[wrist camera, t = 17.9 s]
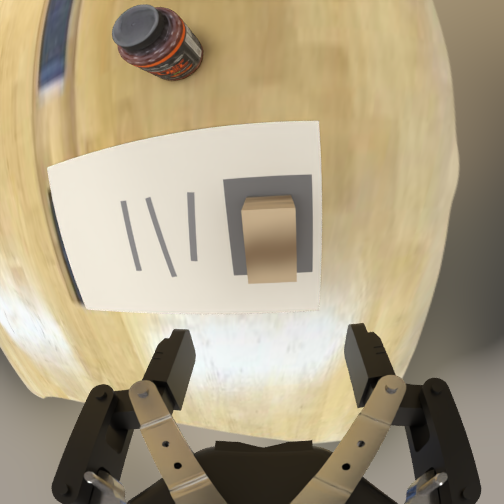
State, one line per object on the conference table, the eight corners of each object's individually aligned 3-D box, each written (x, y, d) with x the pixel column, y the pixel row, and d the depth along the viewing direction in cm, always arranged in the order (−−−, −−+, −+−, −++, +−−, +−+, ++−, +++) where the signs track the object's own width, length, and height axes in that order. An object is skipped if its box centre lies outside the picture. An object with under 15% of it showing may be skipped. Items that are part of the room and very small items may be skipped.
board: (53, 165, 28) (47, 167, 27) (316, 121, 25) (318, 120, 24) (91, 304, 37) (86, 309, 36) (317, 303, 34) (318, 310, 33)
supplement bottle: (162, 90, 25) (108, 73, 14) (147, 50, 23) (93, 21, 12) (212, 68, 24) (179, 32, 13) (195, 27, 21) (158, -17, 11)
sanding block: (246, 196, 28) (241, 210, 23) (290, 194, 27) (295, 207, 22) (252, 258, 30) (248, 283, 25) (292, 256, 30) (296, 281, 25)
